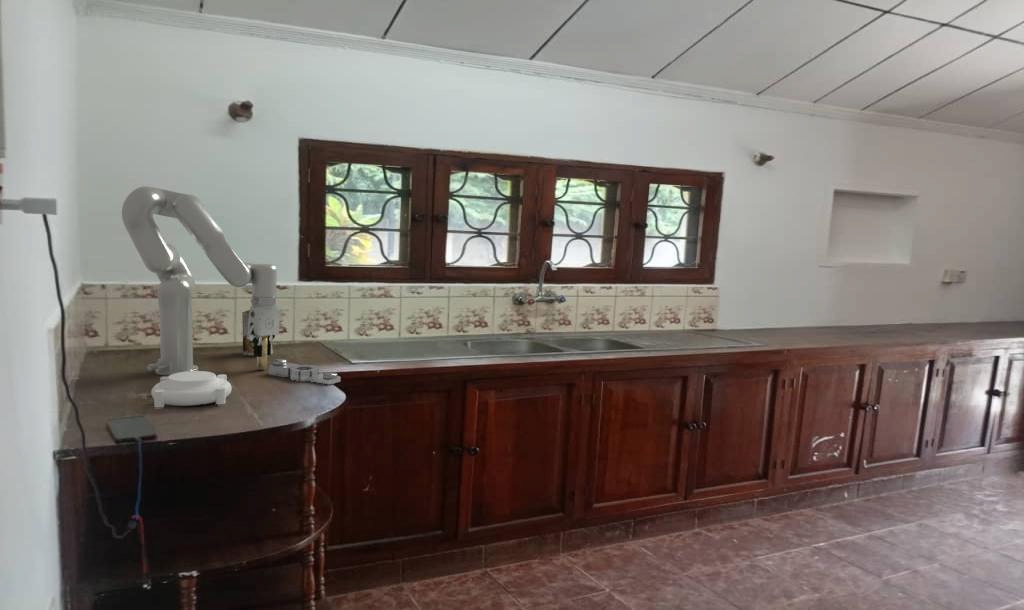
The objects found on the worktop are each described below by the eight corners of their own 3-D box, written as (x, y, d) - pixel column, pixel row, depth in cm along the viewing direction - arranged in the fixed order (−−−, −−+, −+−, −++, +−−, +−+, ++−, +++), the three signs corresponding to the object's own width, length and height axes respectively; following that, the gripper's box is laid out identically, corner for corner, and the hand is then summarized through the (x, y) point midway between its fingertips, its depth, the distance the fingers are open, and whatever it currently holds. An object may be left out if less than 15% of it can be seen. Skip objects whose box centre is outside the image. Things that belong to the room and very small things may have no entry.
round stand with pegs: (196, 385, 216) (195, 362, 215) (256, 397, 206) (256, 373, 205) (124, 403, 194) (123, 378, 193) (188, 417, 184) (187, 391, 183)
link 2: (326, 386, 220) (326, 377, 220) (284, 378, 227) (284, 370, 227) (344, 380, 228) (344, 372, 228) (303, 373, 235) (303, 365, 235)
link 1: (305, 382, 224) (305, 369, 223) (264, 375, 231) (264, 361, 230) (324, 377, 231) (324, 364, 231) (284, 370, 239) (284, 357, 238)
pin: (261, 369, 235) (263, 333, 233) (252, 367, 236) (253, 332, 235) (270, 367, 238) (271, 332, 237) (261, 365, 240) (262, 330, 238)
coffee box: (273, 353, 264) (273, 310, 262) (265, 356, 258) (265, 313, 256) (250, 351, 265) (249, 309, 263) (241, 355, 259) (241, 311, 256)
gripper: (253, 304, 226) (252, 361, 228) (290, 300, 240) (288, 353, 243) (236, 301, 229) (234, 357, 231) (273, 298, 244) (271, 350, 246)
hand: (262, 355), depth 237 cm, fingers closed on pin, 3 cm apart
